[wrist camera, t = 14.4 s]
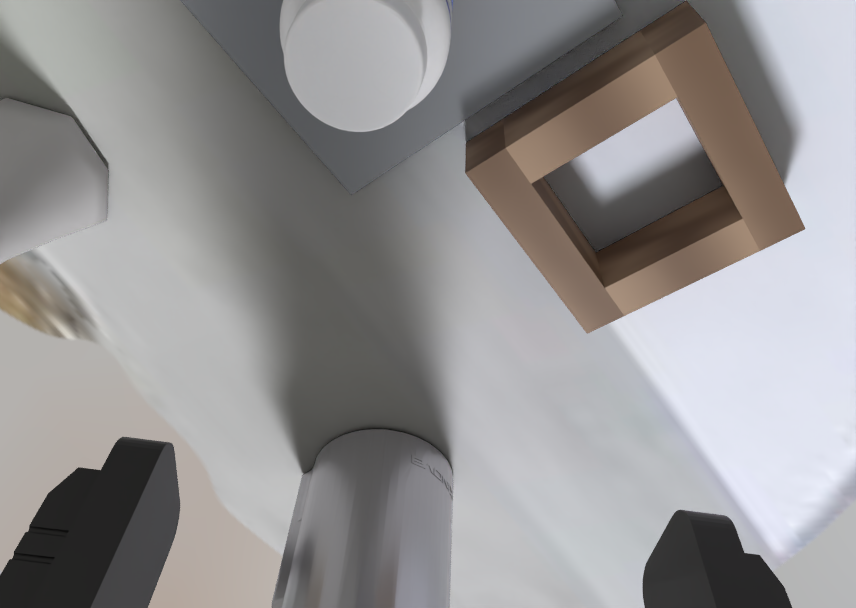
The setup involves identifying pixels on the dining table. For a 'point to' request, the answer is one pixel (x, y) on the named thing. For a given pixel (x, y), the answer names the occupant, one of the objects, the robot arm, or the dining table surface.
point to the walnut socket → (602, 118)
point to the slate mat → (446, 103)
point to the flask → (46, 178)
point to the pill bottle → (364, 57)
